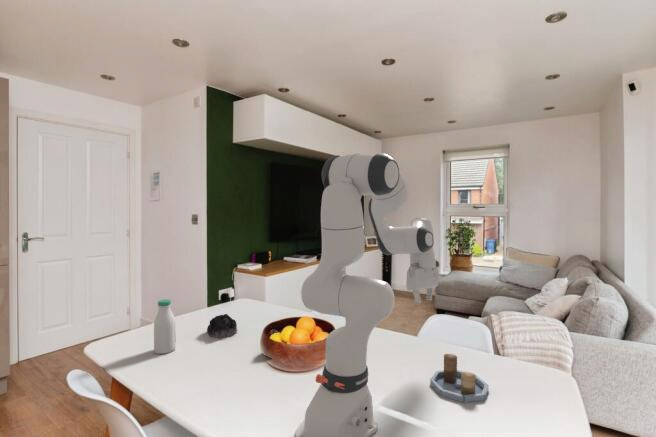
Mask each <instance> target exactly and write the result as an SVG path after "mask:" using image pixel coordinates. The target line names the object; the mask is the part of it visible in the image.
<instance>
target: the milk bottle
mask: <svg viewBox="0 0 656 437" xmlns="http://www.w3.org/2000/svg"><path fill="white" fill-rule="evenodd" d="M171 305H172V301H171V299H161V300H158V301H157V308H158V310H157V313H156V316H155V318H154V321H153V351H154V353H155V354H156V355H157V354H158V355H164V354H165V355H166V354H169V353H172V352H174V351H175V349H176V346H177V344H176V343H177V342H176V318H175V315H174V313H173V311H172V309H171Z"/></svg>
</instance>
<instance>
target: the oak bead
mask: <svg viewBox="0 0 656 437" xmlns="http://www.w3.org/2000/svg"><path fill="white" fill-rule="evenodd" d="M476 376H477V375H476V374H475V373H473V372H470V371H463V372H462V373H461V394H462V395H470V394H475V386H476Z"/></svg>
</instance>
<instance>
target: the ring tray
mask: <svg viewBox="0 0 656 437" xmlns="http://www.w3.org/2000/svg"><path fill="white" fill-rule="evenodd" d="M462 372H464V371H463V370H458V369H457V382H455V384H449V383H446V382H445V381H444V369H443V370H436V371H435V372H434V374H433V375H432V376H431V377H430V380H429V381H430V382H429V384H430V386H431V387H432V388H433V389H434V391H436V392H437V393H438V394H439V395H440V396H441V397H445V398H446V399H447V398H448V399H450V400H454V401H457V402H460V403H473V402H483V401H485V400H486V398H487V396H488V392H489V384H488V383H487V382H485V381H484V380H482V379H481V378H480V377H479V376H478V375H476V386H475V394H470V395H462V394H461V373H462Z"/></svg>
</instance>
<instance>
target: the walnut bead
mask: <svg viewBox="0 0 656 437" xmlns="http://www.w3.org/2000/svg"><path fill="white" fill-rule="evenodd" d="M443 370H444V381H445V382H446V383H449V384H455V382H457V370H458V356H457V355H456V354H453V353H445V354H443Z"/></svg>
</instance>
